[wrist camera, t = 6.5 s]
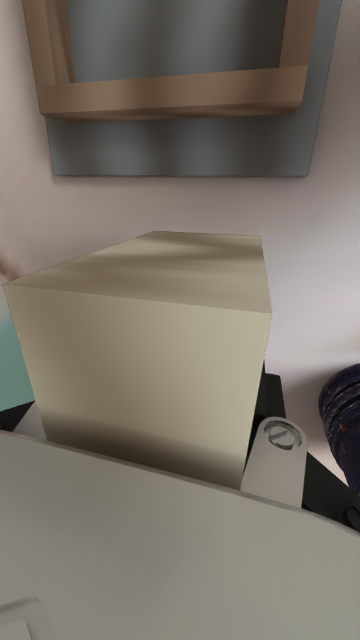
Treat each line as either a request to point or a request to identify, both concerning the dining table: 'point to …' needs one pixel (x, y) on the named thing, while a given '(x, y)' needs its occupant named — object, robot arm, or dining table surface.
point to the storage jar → (343, 421)
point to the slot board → (181, 84)
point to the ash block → (150, 350)
